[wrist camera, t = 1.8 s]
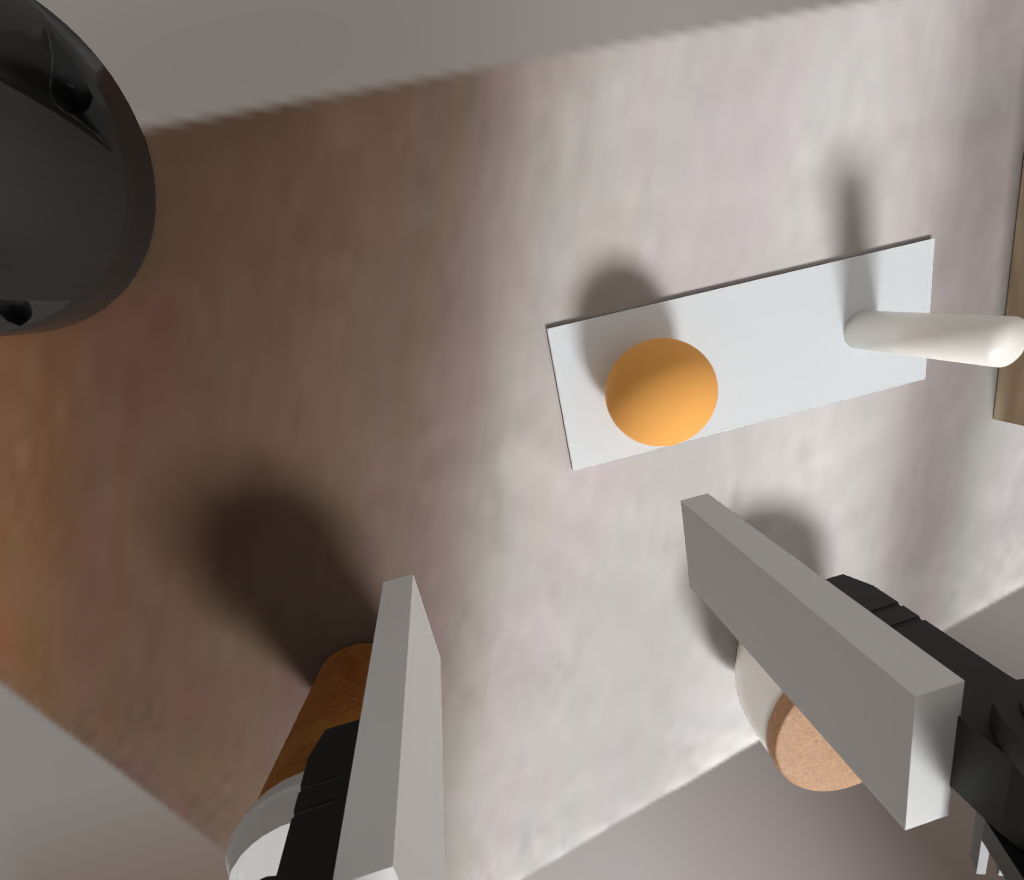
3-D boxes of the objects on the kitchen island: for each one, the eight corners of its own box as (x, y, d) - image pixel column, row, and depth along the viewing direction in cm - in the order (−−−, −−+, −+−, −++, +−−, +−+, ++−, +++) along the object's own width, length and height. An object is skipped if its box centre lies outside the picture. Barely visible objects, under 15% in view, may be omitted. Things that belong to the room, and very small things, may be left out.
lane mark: (572, 469, 31) (573, 470, 30) (546, 328, 28) (547, 329, 28) (922, 378, 33) (925, 378, 33) (931, 238, 30) (934, 238, 30)
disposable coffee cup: (441, 621, 32) (446, 798, 21) (430, 733, 35) (429, 943, 24) (291, 620, 31) (208, 812, 19) (291, 738, 33) (218, 968, 22)
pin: (834, 338, 31) (975, 353, 23) (856, 303, 30) (1008, 307, 22) (859, 354, 32) (1005, 375, 24) (881, 321, 31) (1038, 330, 23)
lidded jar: (720, 589, 35) (816, 688, 27) (847, 580, 37) (977, 671, 28) (699, 705, 38) (779, 829, 30) (817, 693, 40) (926, 806, 31)
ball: (574, 406, 29) (607, 433, 24) (622, 316, 28) (669, 321, 23) (652, 444, 31) (701, 478, 25) (701, 360, 30) (764, 376, 24)
